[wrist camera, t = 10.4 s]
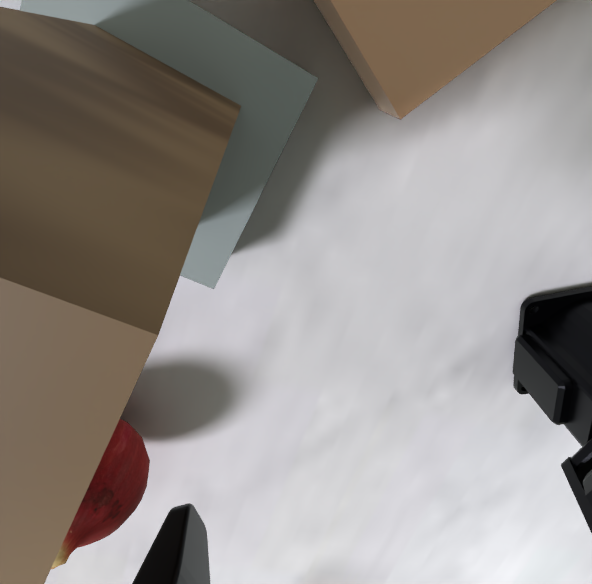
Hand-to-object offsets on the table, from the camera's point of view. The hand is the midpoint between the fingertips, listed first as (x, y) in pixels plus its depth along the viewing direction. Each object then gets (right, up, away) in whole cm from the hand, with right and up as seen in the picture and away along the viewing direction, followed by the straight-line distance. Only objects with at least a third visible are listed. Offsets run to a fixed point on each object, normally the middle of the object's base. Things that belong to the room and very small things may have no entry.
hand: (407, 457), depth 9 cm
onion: (-13, -4, +16) cm, 21 cm away
